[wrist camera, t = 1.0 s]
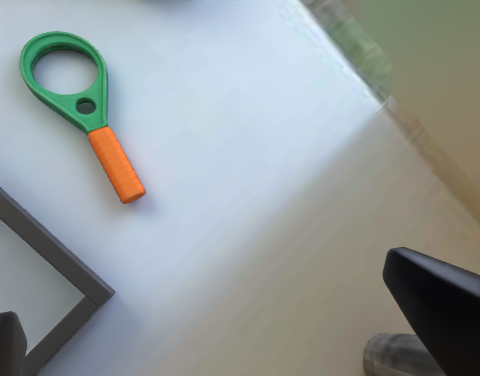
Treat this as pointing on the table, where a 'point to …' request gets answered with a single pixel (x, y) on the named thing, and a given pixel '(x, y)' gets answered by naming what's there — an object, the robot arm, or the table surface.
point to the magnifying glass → (92, 123)
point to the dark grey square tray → (69, 267)
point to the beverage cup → (399, 357)
